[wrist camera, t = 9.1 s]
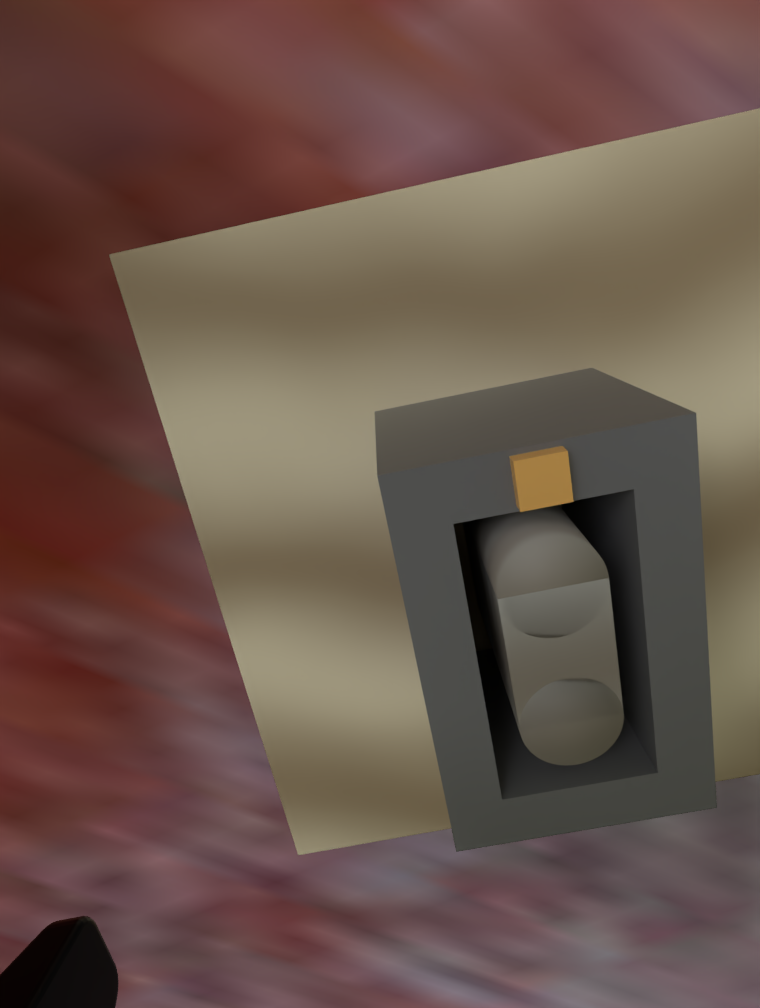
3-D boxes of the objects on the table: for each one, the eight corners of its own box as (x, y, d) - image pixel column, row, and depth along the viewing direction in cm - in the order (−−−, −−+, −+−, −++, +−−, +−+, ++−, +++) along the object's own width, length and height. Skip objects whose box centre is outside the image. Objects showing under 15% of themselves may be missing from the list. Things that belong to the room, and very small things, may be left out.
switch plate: (132, 255, 15) (-24, 246, 9) (762, 114, 15) (1045, 2, 9) (303, 814, 20) (274, 1048, 14) (776, 729, 20) (960, 937, 14)
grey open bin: (620, 659, 17) (724, 819, 12) (432, 694, 17) (458, 864, 12) (592, 367, 15) (705, 416, 10) (374, 411, 15) (377, 481, 10)
